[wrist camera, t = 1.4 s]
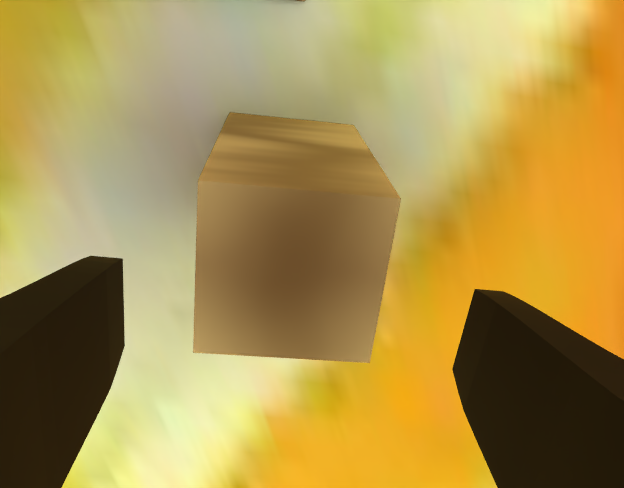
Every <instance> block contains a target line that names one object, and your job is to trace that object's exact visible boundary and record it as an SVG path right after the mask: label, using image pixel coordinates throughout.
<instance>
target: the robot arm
mask: <svg viewBox="0 0 624 488" xmlns="http://www.w3.org/2000/svg"><path fill="white" fill-rule="evenodd" d="M124 346H125V343H124V299H123V259H121V258H109V257H98V256H89V257H86V258H83V259H81V260H79V261H76V262H74V263H72V264H70V265H68V266H66V267H64V268H62V269H60V270H58V271H56V272H54V273H52V274H50V275H48V276H46V277H44V278H42V279H40V280H38V281H36V282H34V283H31V284H29V285H27V286H25V287H23V288H21V289H19V290H17V291H15V292H13V293H11V294H9V295H7V296H4V297H2V298H0V488H61V487H62V485H63V483H64V481H65V479H66V477H67V475H68V473H69V471H70V469H71V467H72V465H73V463H74V461H75V459H76V457H77V455H78V453H79V451H80V449H81V447H82V445H83V443H84V441H85V439H86V437H87V435H88V433H89V431H90V429H91V427H92V425H93V423H94V421H95V419H96V417H97V415H98V413H99V411H100V409H101V407H102V405H103V403H104V401H105V399H106V397H107V395H108V392H109V390H110V388H111V385H112V383H113V380H114V377H115V374H116V371H117V368H118V365H119V362H120V359H121V355H122V352H123V349H124ZM453 373H454V377H455V381H456V385H457V389H458V393H459V396H460V399H461V403H462V406H463V409H464V412H465V415H466V417H467V419H468V422H469V424H470V426H471V429H472V431H473V433H474V436H475V438H476V440H477V442H478V445H479V447H480V449H481V451H482V454H483V456H484V458H485V460H486V463H487V465H488V467H489V469H490V472H491V474H492V476H493V478H494V480H495V483H496V485H497V487H498V488H624V359H622V358H620V357H618V356H616V355H614V354H613V353H611V352H609V351H607V350H606V349H604V348H602V347H600V346H599V345H597V344H595V343H593V342H592V341H590V340H588V339H586V338H585V337H583V336H581V335H580V334H578V333H576V332H575V331H573V330H571V329H570V328H568V327H566V326H565V325H563V324H561V323H560V322H558V321H556V320H555V319H553V318H551V317H550V316H548V315H546V314H545V313H543V312H541V311H540V310H538V309H536V308H535V307H533V306H531V305H529V304H527V303H526V302H524V301H522V300H520V299H518V298H516V297H514V296H512V295H510V294H508V293H505V292H503V291H492V290H480V289H475V290H474V294H473V297H472V301H471V305H470V308H469V312H468V315H467V319H466V322H465V326H464V330H463V333H462V337H461V340H460V344H459V347H458V351H457V355H456V358H455V362H454V365H453Z"/></svg>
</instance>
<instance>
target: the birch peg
mask: <svg viewBox="0 0 624 488" xmlns="http://www.w3.org/2000/svg"><path fill="white" fill-rule="evenodd" d="M400 200H401V198H400V197H399V195H398V194H397V192H396V190H395V189H394V187H393V186H392V184H391V183H390V181H389V179H388V178H387V176H386V175H385V173H384V172H383V170H382V169H381V167H380V165H379V164H378V162H377V161H376V159H375V158H374V156H373V154H372V153H371V151H370V150H369V148H368V147H367V145H366V144H365V142H364V140H363V139H362V137H361V136H360V134H359V133H358V131H357V129H356V128H355V126H354V125H348V124H338V123H329V122H319V121H309V120H300V119H290V118H280V117H270V116H261V115H251V114H241V113H231V112H230V113H229V115H228V117H227V119H226V121H225V124H224V126H223V128H222V130H221V132H220V134H219V136H218V139H217V141H216V143H215V145H214V147H213V149H212V151H211V154H210V156H209V158H208V160H207V162H206V164H205V167H204V169H203V171H202V173H201V175H200V177H199V179H198V199H197V236H196V272H195V308H194V345H193V353H210V354H227V355H244V356H261V357H278V358H295V359H312V360H330V361H347V362H364V363H370V358H371V353H372V348H373V342H374V337H375V332H376V327H377V321H378V316H379V311H380V306H381V300H382V295H383V290H384V284H385V279H386V274H387V269H388V263H389V258H390V253H391V248H392V242H393V237H394V232H395V226H396V221H397V216H398V211H399V205H400Z"/></svg>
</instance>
